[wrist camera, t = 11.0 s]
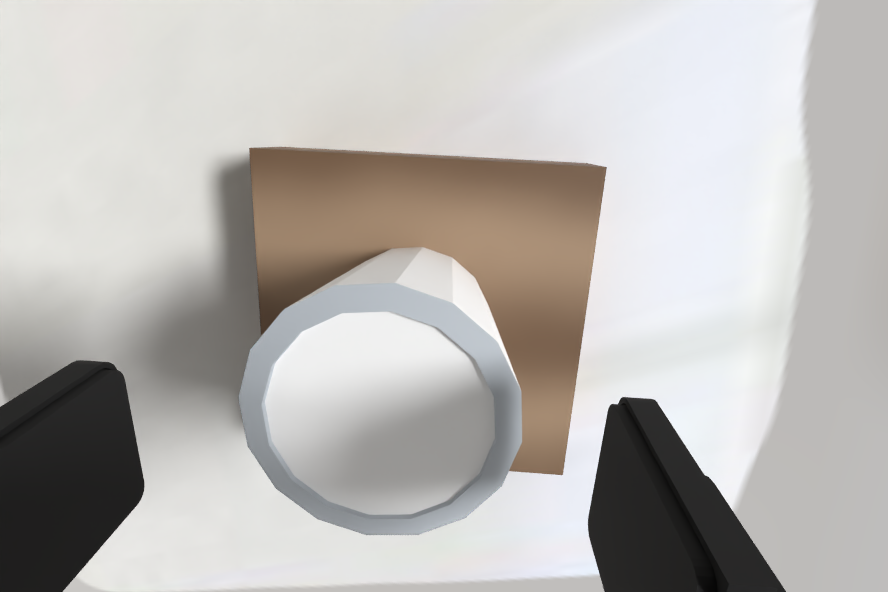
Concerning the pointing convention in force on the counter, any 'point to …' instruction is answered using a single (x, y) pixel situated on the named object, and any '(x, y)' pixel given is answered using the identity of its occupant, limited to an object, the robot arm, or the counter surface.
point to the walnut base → (446, 250)
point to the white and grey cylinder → (385, 397)
